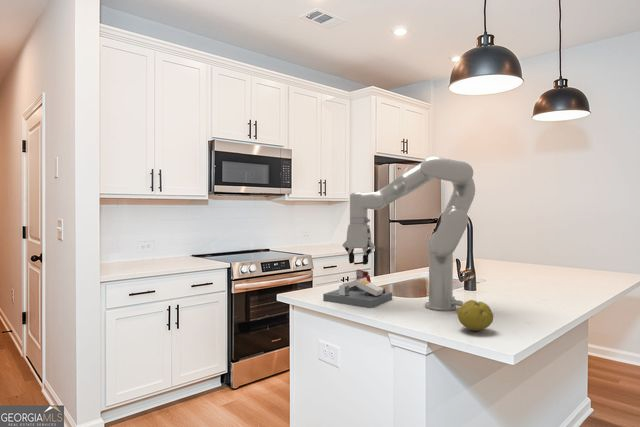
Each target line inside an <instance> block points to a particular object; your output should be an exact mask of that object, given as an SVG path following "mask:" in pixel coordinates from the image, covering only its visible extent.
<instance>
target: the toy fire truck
mask: <svg viewBox="0 0 640 427" xmlns="http://www.w3.org/2000/svg"><path fill="white" fill-rule="evenodd" d="M355 274H356V279H360V278H364V277H366V278H367V281H369V282H371V283H372V281H371V277H370V275H369V271H367V270H362V269H356V271H355ZM356 279H355V280H356ZM359 289H361V288H359Z"/></svg>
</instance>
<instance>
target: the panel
mask: <svg viewBox="0 0 640 427" xmlns="http://www.w3.org/2000/svg"><path fill="white" fill-rule="evenodd" d="M382 288H383V293H382V294H380V295H378V296H375V295H373V294H371V293H369V292H367V291H365V290H363V289H359V287H357V286H353V287H349V294H348V295H345V296H343V295H339V288H338V289H335V290H331V291H328V292H326V293H323V296H322V299H323V302H330V303H337V304H342V305H350V306H355V307H361V308H362V307H363V308H369V309H373V308H375V307H378V306H380V305H383V304H385V303H386V302H389V301H391V300H393V292H389V291H386V288H385V287H382Z"/></svg>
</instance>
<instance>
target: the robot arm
mask: <svg viewBox="0 0 640 427" xmlns="http://www.w3.org/2000/svg"><path fill="white" fill-rule="evenodd" d="M473 176H474V169H473V166H472V165H471V164H469V163H468V162H465V161H461V160H455V159H450V158H449V159H448V158H445V157H444V158H443V157H440V156H439V157H438V156H430V157H427V158H426V159H424V160H423V161H422V162H420V163H418V164H417V165H415V166H413V167H412V168H410V169H408V170H407V171H405V172H403V173H401V174H400V175H399V176H397V177H396V178H395V179H394V180H393V181H391V182H390V183H388V184H387V185H386V186H383V187H382V188H381V189H379V190H377V191H372V192H351V193H350V195H349V224H348V225H347V230H346V231H347V232H346V239H345V241H344V243H342V247H343V248H344V249H345V251H346V252H347V254H348V262H349V264H354V263H355V253H354V250H355V249H362V252H363V255H362V265H368V263H369V255H370V254H371V252H372V251H374V249H375V248H376V245H375V244H374V243H373V242H372V232H371V226H370V224H369V223H370V222H371V219H370V218H368V210H375V211H378V210H382V209H383V208H384V207H385V208H386V206H388V205H389V204H392V203H394V202H395V201H396V200H398V199H400V198H402V197H405V196H408V195H409V194H411V193H413V192H414V191H415V190H418V189H419V188H421V187H423V186H424V185H426V184H428V183H430V182H431V181H434V180H435V179H437V180H443V181H447V182H451V184H452V186H453V191H452V194H451V196H450V199H449V200H448V203H447V205H446V206H445V209H444V210H443V211H442V214H441V216H440V223H439V226H438V228H437V229H436V231H435V232H433V233H432V234H431V235H430V237H429V239H428V244H427V245H428V301H427V302H425V303H424V308H426V309H429V310H434V311H441V312H442V311H444V312H447V311H455V310H456V309H457V306H459V307H460V306H461V305H462V304H464V301H462V300H459V299H458V300H457V299H455V298H456V297H455V296H453V295H454V294H453V293H454V292H453V291H454V289H453V284H454V282H453V281H454V280H453V279H454V276H453V273H454V272H453V270H454V268H453V267H454V256H453V253H454V252H455V250H456V249H457V247H458V245H459V243H460V242H461V239H462V238H463V235H464V234H465V231H466V229H467V226H468V223H469V217H468V212H469V210H470V208H471V206H472V203H473V201H474V198H475V195H476V185H475V181H474V179H473Z"/></svg>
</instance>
